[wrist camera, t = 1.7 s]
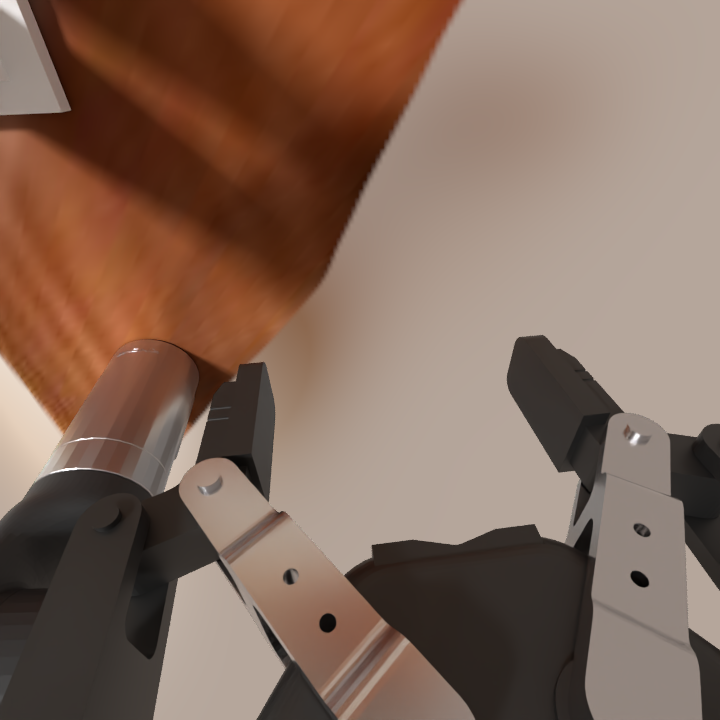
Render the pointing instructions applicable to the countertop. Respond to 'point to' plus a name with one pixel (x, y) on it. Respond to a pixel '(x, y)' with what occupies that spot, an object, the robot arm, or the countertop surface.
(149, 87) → the countertop surface
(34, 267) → the countertop surface
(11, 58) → the white pedestal stand
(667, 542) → the robot arm
